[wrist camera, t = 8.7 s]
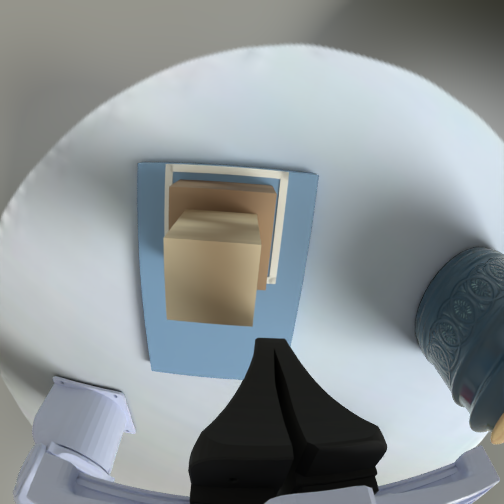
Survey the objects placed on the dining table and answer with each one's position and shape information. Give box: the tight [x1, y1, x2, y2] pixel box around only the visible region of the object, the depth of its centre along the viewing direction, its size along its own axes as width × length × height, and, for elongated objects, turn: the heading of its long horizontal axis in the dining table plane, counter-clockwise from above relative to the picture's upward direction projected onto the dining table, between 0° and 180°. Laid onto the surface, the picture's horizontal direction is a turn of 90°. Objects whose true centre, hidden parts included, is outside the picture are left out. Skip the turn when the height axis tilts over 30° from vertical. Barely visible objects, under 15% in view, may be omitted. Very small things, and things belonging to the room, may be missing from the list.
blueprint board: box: [137, 162, 319, 380], centre depth 22 cm, size 12×18×1 cm, turn 175°
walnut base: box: [169, 179, 277, 290], centre depth 19 cm, size 6×6×3 cm
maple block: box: [164, 209, 261, 327], centre depth 15 cm, size 4×4×5 cm
